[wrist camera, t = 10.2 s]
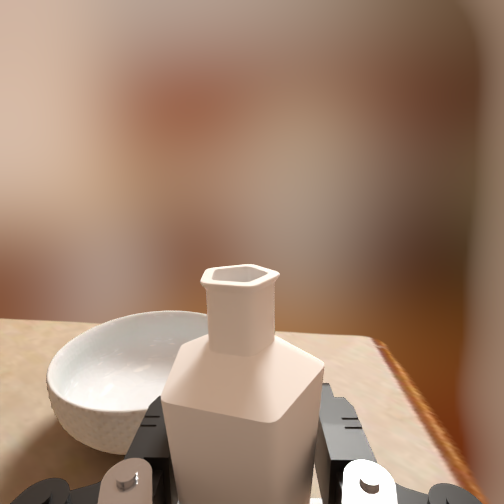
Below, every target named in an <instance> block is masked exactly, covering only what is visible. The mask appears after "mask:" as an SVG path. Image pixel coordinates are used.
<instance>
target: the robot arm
mask: <svg viewBox="0 0 504 504" xmlns="http://www.w3.org/2000/svg"><path fill="white" fill-rule="evenodd" d="M314 463H315V468H316V473H317V478H318V483H319V488H320V493H321V498H322V503H323V504H482V503H481V502H480V501H479V500H478V499H477V498H476V497H475V496H473V495H472V494H471V493H469V492H468V491H466V490H464V489H462V488H460V487H458V486H455V485H452V484H447V483H440V484H436V485H434V486H433V487H431V489H430V490H429V494H428V495H427V494H424V493H421V492H417V491H414V490H411V489H407V488H405V487H402V486H400V485H398V484H397V483H395V482H394V480H393V479H392V477H391V475H390V474H389V473H388V472H387V471H386V470H385V469H384V468H382V467H381V466H379V465H378V464H377V461H376V459H375V457H374V454H373V452H372V449H371V447H370V445H369V442H368V440H367V438H366V435H365V433H364V431H363V429H362V426H361V424H360V421H359V420H358V417H357V414H356V412H355V409H354V407H353V406H352V405H351V404H350V403H349V402H348V401H347V400H346V399H345V398H344V397H334V396H333V393H332V390H331V387H330V385H329V383H322V392H321V402H320V411H319V421H318V430H317V439H316V449H315V458H314ZM177 503H178V494H177V488H176V482H175V477H174V471H173V465H172V460H171V454H170V448H169V443H168V437H167V431H166V426H165V420H164V414H163V409H162V403H161V396H159V397H157V398H156V399H155V400H154V401H153V402H152V403H151V404H150V405H149V407H148V409H147V411H146V413H145V416H144V418H143V420H142V422H141V424H140V427H139V428H138V430H137V432H136V435H135V437H134V439H133V441H132V443H131V445H130V447H129V449H128V451H127V454H126V456H125V458H124V460H123V461H120V462H119V463H117V464H115V465H114V466H112V467H111V468H110V469H109V470H108V471H107V472H106V474H105V475H104V477H103V479H102V481H100V482H98V483H96V484H93V485H89V486H86V487H82V488H78V489H75V490H71V491H70V488H69V485H68V483H67V482H66V481H65V480H63V479H60V478H49V479H45V480H42V481H40V482H38V483H35V484H34V485H32V486H30V487H29V488H27V489H26V490H25V491H23V492H22V493H21V494H20V495H19V496H18V497H17V498H16V499H15V500H14V501H13V502H12V503H10V504H177Z"/></svg>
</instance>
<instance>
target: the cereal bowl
mask: <svg viewBox="0 0 504 504" xmlns="http://www.w3.org/2000/svg"><path fill="white" fill-rule="evenodd" d="M207 334H208V317H207V315H206V314H202V313H196V312H188V311H155V312H146V313H139V314H134V315H129V316H125V317H121V318H118V319H115V320H111V321H108V322H106V323H103V324H100V325H98V326H95V327H93V328H91V329H89V330H87V331H85V332H83V333H81V334H80V335H78V336H76V337H75V338H73V339H72V340H71V341H69V342H68V343H67V344H66V345H64V346H63V347H62V348H61V349H60V350H59V351H58V352H57V353H56V355H55V356H54V357H53V359H52V361H51V362H50V364H49V367H48V370H47V376H46V383H47V390H48V393H49V399H50V401H51V407H52V409H53V410H54V414H55V416H56V417H57V418H58V421H59V423H60V424H61V425H62V427H63V429H64V430H66V431H67V432H68V434H69V435H71V436H73V437H74V438H75V440H77V441H80V442H81V443H83V444H84V445H87V446H89V447H91V448H93V449H97V450H100V451H101V452H107V453H111V454H119V455H122V454H123V455H126V454H127V451H128V449H129V447H130V445H131V443H132V441H133V439H134V437H135V435H136V432H137V430H138V428H139V427H140V424H141V422H142V420H143V418H144V416H145V413H146V411H147V409H148V407H149V405H150V404H151V403H152V402H153V401H154V400H155V399H156V398H157V397H159V396H161V394H162V391H163V389H164V386H165V384H166V381H167V379H168V376H169V374H170V371H171V369H172V366H173V364H174V361H175V359H176V356H177V354H178V351H179V349H180V347H181V346H182V345H183V344H185V343H187V342H189V341H192V340H194V339H197V338H199V337H202V336H204V335H207Z"/></svg>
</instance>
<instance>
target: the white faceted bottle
mask: <svg viewBox="0 0 504 504" xmlns="http://www.w3.org/2000/svg"><path fill="white" fill-rule="evenodd" d="M279 275H280V274H279V272H276V271H273V270H270V269H267V268H264V267H260V266H257V265H253V264H243V265H234V266H224V267H216V268H209V269H207V270H205V272H204V274H203V276H202V278H201V280H200V283H201V285H202V286H203V287H204V288H206V298H207V317H208V334H207V335H204V336H202V337H199V338H197V339H194V340H192V341H189V342H187V343H185V344H183V345H182V346H181V347H180V349H179V351H178V354H177V356H176V359H175V361H174V364H173V366H172V369H171V371H170V374H169V376H168V379H167V381H166V384H165V386H164V389H163V391H162V394H161V403H162V409H163V414H164V420H165V426H166V431H167V437H168V443H169V448H170V454H171V460H172V465H173V471H174V477H175V482H176V488H177V494H178V500H179V504H310V496H311V486H312V477H313V468H314V458H315V449H316V439H317V430H318V421H319V411H320V402H321V392H322V383H323V374H324V363H323V362H322V361H321V360H320V359H318V358H316V357H314V356H312V355H310V354H308V353H307V352H305V351H303V350H301V349H299V348H297V347H296V346H294V345H292V344H290V343H288V342H286V341H285V340H283V339H281V338H279V337H277V336H275V321H274V318H275V317H274V282H275V280H277V278H278V277H279Z"/></svg>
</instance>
